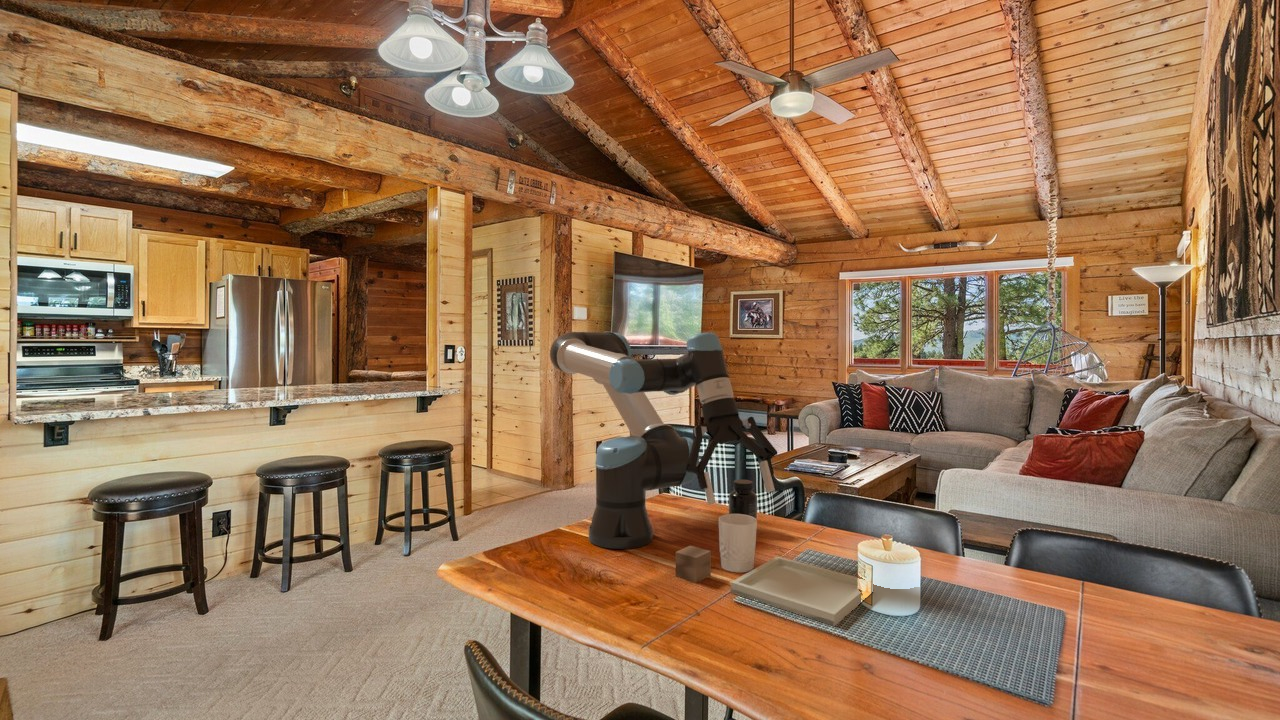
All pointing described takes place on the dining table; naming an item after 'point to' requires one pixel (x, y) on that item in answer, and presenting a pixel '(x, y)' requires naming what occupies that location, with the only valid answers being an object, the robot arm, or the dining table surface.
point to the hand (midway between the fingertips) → (741, 497)
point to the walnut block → (693, 564)
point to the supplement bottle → (743, 499)
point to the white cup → (737, 542)
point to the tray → (801, 589)
